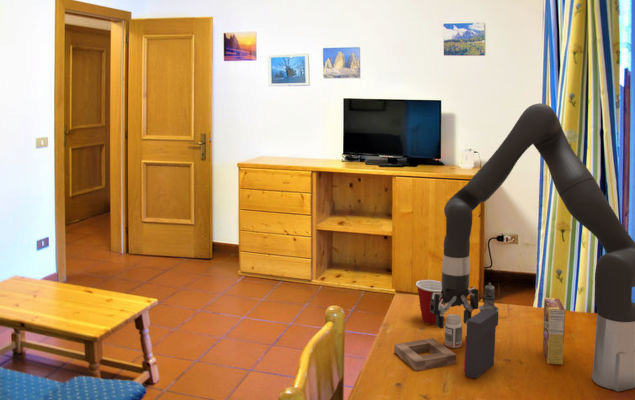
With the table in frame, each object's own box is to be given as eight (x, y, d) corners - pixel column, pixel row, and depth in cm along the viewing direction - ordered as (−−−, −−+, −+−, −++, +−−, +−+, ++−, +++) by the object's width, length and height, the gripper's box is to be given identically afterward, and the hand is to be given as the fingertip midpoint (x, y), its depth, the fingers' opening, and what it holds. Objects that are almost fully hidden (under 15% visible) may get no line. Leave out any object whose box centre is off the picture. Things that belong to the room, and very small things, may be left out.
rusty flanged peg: (474, 317, 200) (476, 281, 198) (489, 314, 203) (491, 278, 200) (487, 323, 195) (488, 286, 193) (502, 320, 197) (503, 283, 195)
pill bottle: (460, 341, 182) (461, 313, 180) (462, 348, 177) (463, 319, 176) (443, 341, 182) (444, 313, 181) (445, 347, 178) (446, 319, 176)
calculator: (480, 360, 169) (483, 307, 166) (496, 365, 166) (498, 310, 164) (462, 375, 161) (464, 319, 158) (477, 380, 158) (480, 323, 155)
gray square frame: (456, 363, 167) (456, 354, 167) (415, 371, 163) (416, 361, 163) (432, 346, 179) (432, 338, 178) (394, 352, 174) (394, 344, 174)
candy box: (541, 350, 176) (544, 297, 173) (557, 351, 175) (560, 298, 172) (545, 363, 167) (548, 308, 164) (562, 365, 166) (566, 309, 163)
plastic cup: (453, 327, 192) (455, 289, 190) (418, 327, 192) (418, 289, 190) (446, 314, 203) (447, 278, 201) (412, 314, 203) (413, 278, 201)
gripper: (440, 277, 170) (438, 334, 173) (485, 271, 175) (482, 327, 178) (426, 269, 177) (424, 324, 180) (470, 264, 182) (467, 317, 185)
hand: (453, 325), depth 179 cm, fingers open, 8 cm apart
